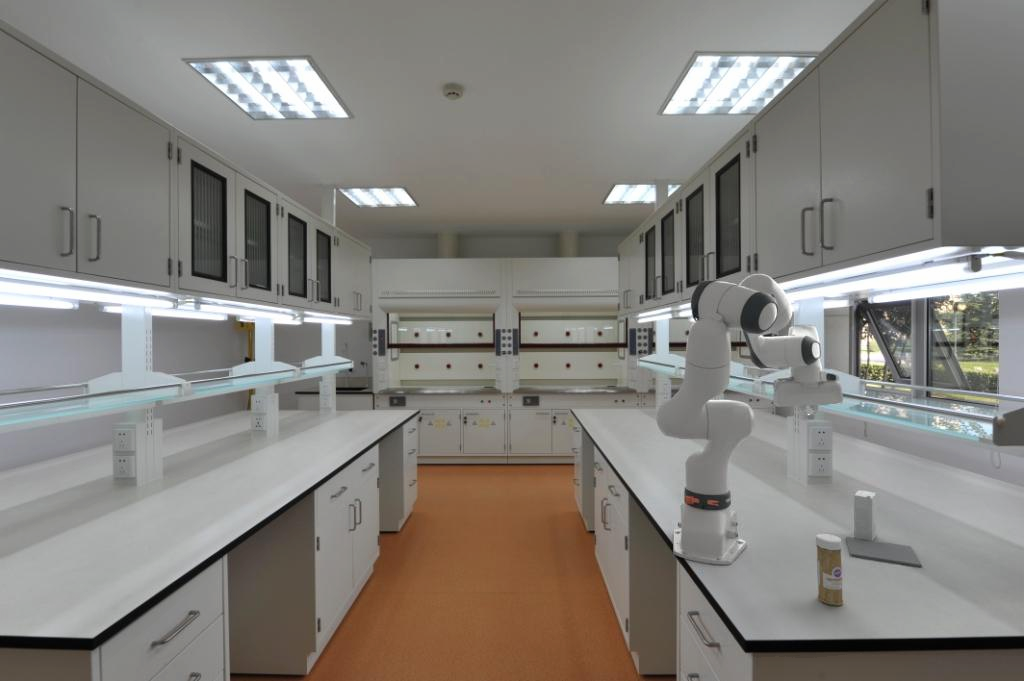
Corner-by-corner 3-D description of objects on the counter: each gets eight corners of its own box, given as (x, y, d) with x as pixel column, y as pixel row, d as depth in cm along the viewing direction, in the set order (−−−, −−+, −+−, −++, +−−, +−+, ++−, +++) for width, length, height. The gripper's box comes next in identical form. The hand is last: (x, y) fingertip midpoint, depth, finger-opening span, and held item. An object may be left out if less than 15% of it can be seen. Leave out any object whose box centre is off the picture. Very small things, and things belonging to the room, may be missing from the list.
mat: (921, 567, 116) (921, 564, 116) (850, 556, 123) (850, 553, 123) (910, 548, 126) (910, 546, 126) (845, 538, 133) (845, 536, 133)
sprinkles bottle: (834, 608, 99) (832, 542, 99) (812, 598, 103) (810, 535, 103) (848, 603, 101) (846, 538, 101) (826, 593, 105) (824, 531, 105)
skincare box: (858, 532, 137) (857, 489, 138) (878, 536, 134) (876, 492, 134) (853, 538, 133) (852, 494, 133) (873, 543, 130) (872, 497, 130)
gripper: (778, 377, 150) (781, 422, 150) (844, 375, 150) (847, 420, 149) (767, 377, 157) (770, 420, 156) (831, 374, 156) (834, 417, 156)
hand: (809, 420), depth 153 cm, fingers closed
